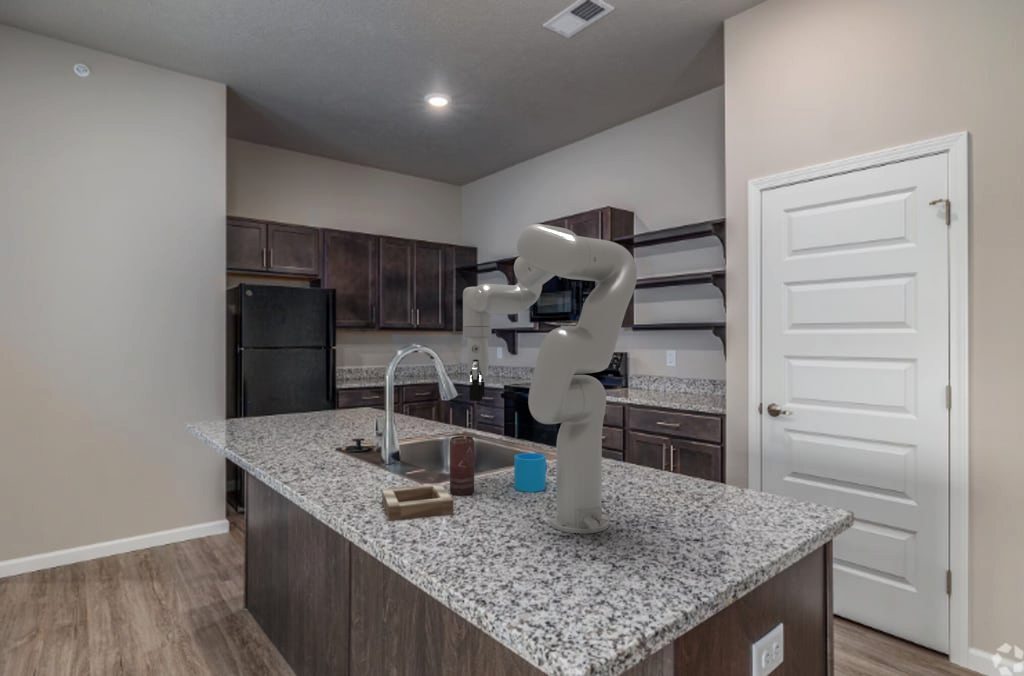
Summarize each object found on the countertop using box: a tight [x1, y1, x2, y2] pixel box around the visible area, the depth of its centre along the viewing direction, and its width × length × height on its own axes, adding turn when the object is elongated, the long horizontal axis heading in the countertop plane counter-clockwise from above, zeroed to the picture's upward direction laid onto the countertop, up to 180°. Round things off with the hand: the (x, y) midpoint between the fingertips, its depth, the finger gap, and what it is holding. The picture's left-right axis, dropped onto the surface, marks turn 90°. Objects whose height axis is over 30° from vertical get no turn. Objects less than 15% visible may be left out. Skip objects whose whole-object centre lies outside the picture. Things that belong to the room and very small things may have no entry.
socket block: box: [381, 483, 454, 522], centre depth 126 cm, size 14×14×3 cm
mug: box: [513, 452, 548, 493], centre depth 145 cm, size 12×8×8 cm
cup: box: [449, 435, 475, 497], centre depth 139 cm, size 6×6×14 cm
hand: (477, 398), depth 145 cm, fingers open, 9 cm apart
